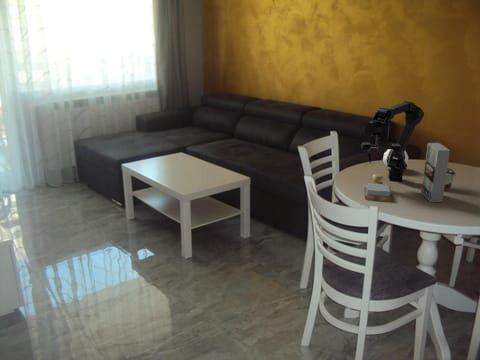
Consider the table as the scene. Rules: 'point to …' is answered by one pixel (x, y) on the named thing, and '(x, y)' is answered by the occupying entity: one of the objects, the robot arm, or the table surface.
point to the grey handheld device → (435, 172)
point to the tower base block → (373, 197)
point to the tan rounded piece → (377, 179)
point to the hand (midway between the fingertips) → (379, 163)
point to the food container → (449, 178)
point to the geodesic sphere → (387, 155)
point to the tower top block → (378, 189)
